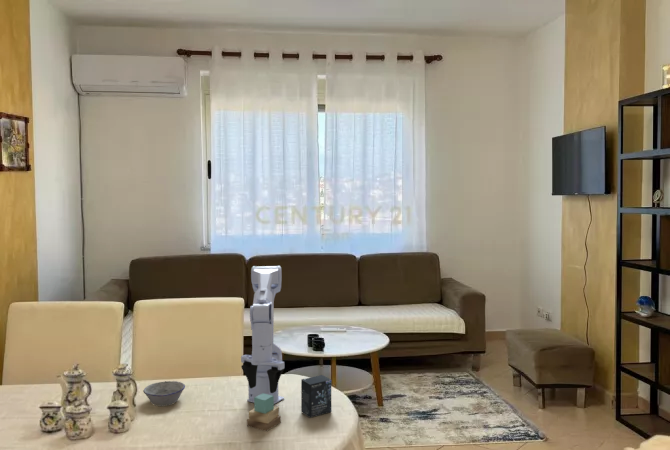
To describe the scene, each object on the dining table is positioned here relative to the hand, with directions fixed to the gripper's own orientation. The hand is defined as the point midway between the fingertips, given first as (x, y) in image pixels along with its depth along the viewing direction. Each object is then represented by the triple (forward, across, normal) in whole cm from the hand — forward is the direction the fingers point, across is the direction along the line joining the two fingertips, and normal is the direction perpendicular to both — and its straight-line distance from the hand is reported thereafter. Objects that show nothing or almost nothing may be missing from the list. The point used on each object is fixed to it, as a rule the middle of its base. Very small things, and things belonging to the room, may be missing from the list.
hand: (262, 389), depth 169 cm
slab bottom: (+11, 0, 0) cm, 11 cm away
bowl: (+11, -39, -2) cm, 40 cm away
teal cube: (+6, 0, 0) cm, 6 cm away
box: (+11, +9, +15) cm, 20 cm away
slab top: (+8, 0, 0) cm, 9 cm away
